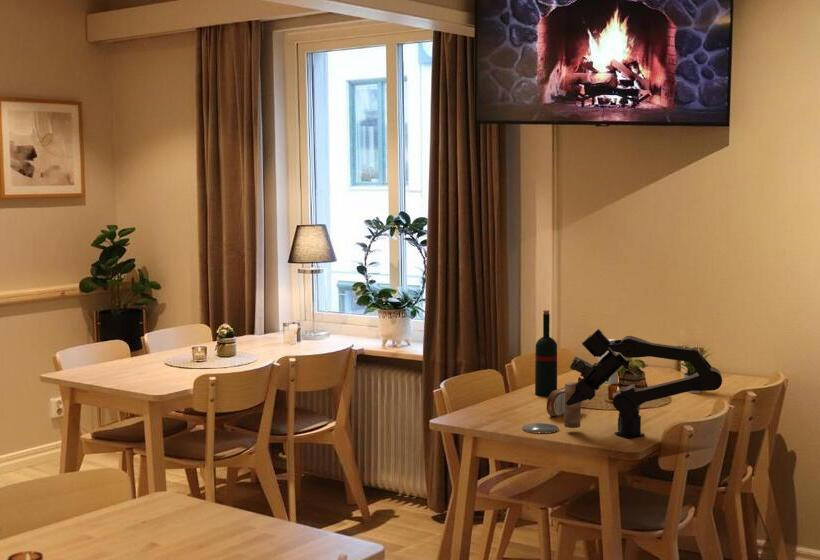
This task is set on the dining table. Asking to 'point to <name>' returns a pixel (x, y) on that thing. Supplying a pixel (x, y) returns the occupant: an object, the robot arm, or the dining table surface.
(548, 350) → the wine bottle
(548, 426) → the coaster
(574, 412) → the pepper mill
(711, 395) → the dining table surface
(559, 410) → the tin
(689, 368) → the house plant
